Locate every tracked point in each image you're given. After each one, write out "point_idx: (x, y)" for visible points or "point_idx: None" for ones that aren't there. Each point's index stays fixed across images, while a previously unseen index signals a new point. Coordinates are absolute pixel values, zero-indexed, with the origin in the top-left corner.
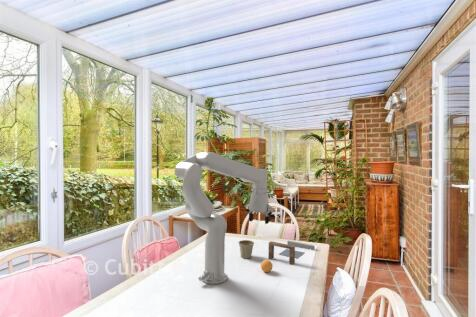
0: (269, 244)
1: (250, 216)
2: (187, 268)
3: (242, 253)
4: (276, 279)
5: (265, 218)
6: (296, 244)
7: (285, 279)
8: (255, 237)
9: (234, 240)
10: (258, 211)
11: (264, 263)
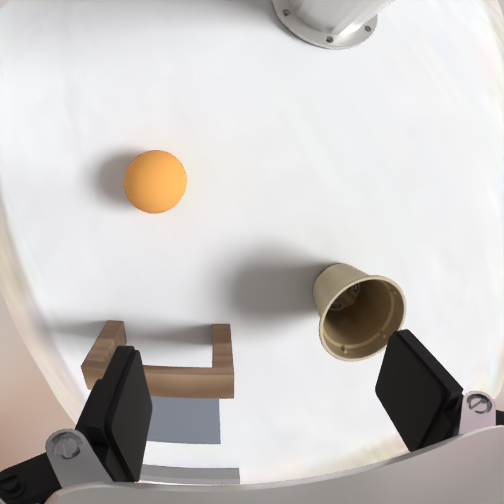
0: (227, 368)
1: (428, 373)
2: (454, 56)
3: (353, 268)
4: (90, 135)
5: (108, 399)
6: (201, 475)
7: (62, 160)
8: (372, 456)
9: None
10: (267, 498)
11: (152, 157)
